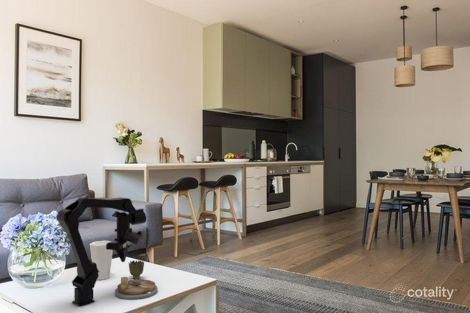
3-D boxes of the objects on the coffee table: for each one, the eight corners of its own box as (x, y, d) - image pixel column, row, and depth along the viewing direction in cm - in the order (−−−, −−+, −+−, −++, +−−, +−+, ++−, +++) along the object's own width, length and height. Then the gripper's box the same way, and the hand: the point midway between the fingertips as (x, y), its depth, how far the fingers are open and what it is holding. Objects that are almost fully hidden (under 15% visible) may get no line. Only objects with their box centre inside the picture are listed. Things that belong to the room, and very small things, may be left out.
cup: (108, 281, 192) (108, 245, 192) (87, 281, 192) (87, 245, 192) (115, 274, 203) (115, 240, 203) (95, 274, 203) (95, 240, 203)
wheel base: (132, 303, 163) (132, 298, 163) (106, 293, 174) (106, 289, 174) (166, 291, 177) (166, 287, 177) (140, 283, 188) (140, 279, 188)
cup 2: (140, 281, 192) (140, 264, 192) (125, 280, 194) (125, 263, 194) (146, 276, 200) (146, 260, 200) (132, 275, 201) (132, 259, 201)
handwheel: (139, 280, 187) (139, 267, 187) (162, 287, 177) (162, 273, 177) (109, 289, 175) (109, 275, 175) (132, 297, 165) (132, 282, 165)
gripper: (129, 230, 166) (129, 268, 166) (149, 223, 185) (149, 257, 185) (105, 229, 169) (105, 266, 169) (127, 222, 187) (127, 256, 187)
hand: (123, 261), depth 177 cm, fingers closed
